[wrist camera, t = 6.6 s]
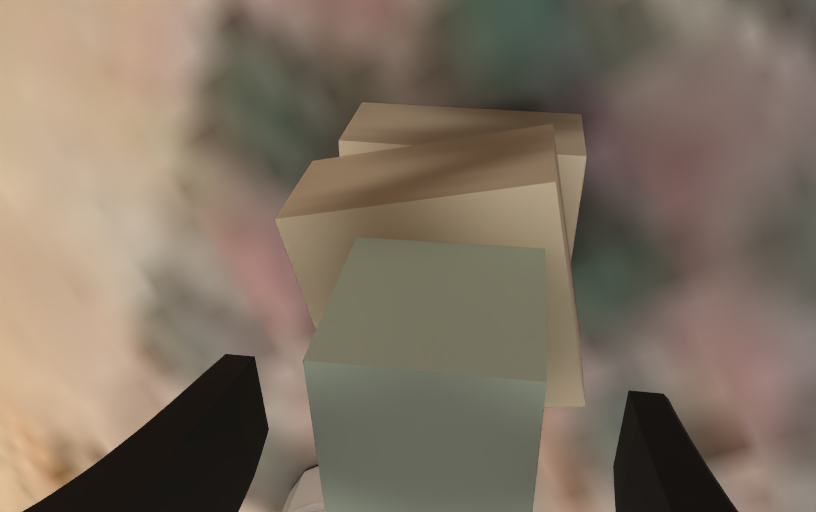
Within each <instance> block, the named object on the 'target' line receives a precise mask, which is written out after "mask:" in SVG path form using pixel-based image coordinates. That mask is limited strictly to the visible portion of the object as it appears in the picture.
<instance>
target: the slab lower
mask: <svg viewBox="0 0 816 512" xmlns="http://www.w3.org/2000/svg"><path fill="white" fill-rule="evenodd" d="M548 124H553V127H554V135H555V143H556V151H557V158H558V166H559V174H560V182H561V190H562V197H563V205H564V213H565V221H566V229H567V237H568V244H569V252H570V260H571V258H572V251H573V245H574V238H575V232H576V225H577V219H578V212H579V205H580V199H581V192H582V186H583V179H584V172H585V166H586V159H587V153H586V145H585V138H584V130H583V123H582V116H581V114H569V113H551V112H532V111H514V110H496V109H477V108H459V107H441V106H422V105H404V104H386V103H367V102H362V103H361V105H360V106H359V108H358V110H357V111H356V113H355V115H354V116H353V118H352V119H351V121H350V123H349V124H348V126H347V128H346V129H345V131H344V132H343V134H342V136H341V137H340V139H339V156H340V157H341V156H347V155H354V154H360V153H367V152H373V151H380V150H386V149H393V148H399V147H406V146H412V145H419V144H425V143H432V142H438V141H445V140H451V139H458V138H464V137H470V136H477V135H483V134H490V133H496V132H503V131H509V130H516V129H522V128H529V127H535V126H542V125H548Z"/></svg>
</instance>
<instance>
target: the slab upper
mask: <svg viewBox="0 0 816 512" xmlns="http://www.w3.org/2000/svg"><path fill="white" fill-rule="evenodd" d="M274 220H275V222H276V225H277V228H278V230H279V233H280V236H281V238H282V241H283V244H284V246H285V249H286V252H287V254H288V257H289V260H290V262H291V265H292V268H293V270H294V273H295V276H296V278H297V281H298V284H299V286H300V289H301V292H302V294H303V297H304V300H305V302H306V305H307V308H308V310H309V313H310V316H311V318H312V321H313V324H314V326H315V329H317V327H318V325H319V322H320V320H321V318H322V315H323V313H324V311H325V308H326V306H327V304H328V301H329V299H330V297H331V295H332V292H333V290H334V288H335V285H336V283H337V281H338V278H339V276H340V274H341V271H342V269H343V267H344V265H345V262H346V260H347V258H348V255H349V253H350V251H351V248H352V246H353V244H354V241H355V239H356V237H363V238H379V239H396V240H412V241H428V242H445V243H461V244H477V245H494V246H510V247H526V248H543V249H545V275H546V355H547V385H546V394H545V403H544V408H560V407H580V406H585V397H584V384H583V371H582V358H581V345H580V332H579V322H578V315H577V307H576V299H575V291H574V283H573V276H572V268H571V260H570V252H569V244H568V237H567V229H566V221H565V213H564V205H563V197H562V190H561V182H560V174H559V166H558V158H557V151H556V143H555V135H554V127H553V124H548V125H542V126H535V127H529V128H522V129H516V130H509V131H503V132H496V133H490V134H483V135H477V136H470V137H464V138H458V139H451V140H445V141H438V142H432V143H425V144H419V145H412V146H406V147H399V148H393V149H386V150H380V151H373V152H367V153H360V154H354V155H347V156H341V157H334V158H328V159H321V160H315V161H312V162H311V164H310V165H309V167H308V169H307V170H306V172H305V173H304V175H303V176H302V178H301V179H300V181H299V182H298V184H297V185H296V187H295V188H294V190H293V191H292V193H291V195H290V196H289V198H288V199H287V201H286V202H285V204H284V205H283V207H282V208H281V210H280V211H279V213H278V214H277V216H276V217H275V219H274Z"/></svg>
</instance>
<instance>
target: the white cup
mask: <svg viewBox="0 0 816 512" xmlns="http://www.w3.org/2000/svg"><path fill="white" fill-rule="evenodd" d="M282 512H325V508H324V501H323V494H322V487H321V481H320V474H319V467H318V466H317V467H315V468H312V469H310V470H307V471H305V472H304V473H303V474H302V476H301V477H300V479H299V480H298V481H297V483H296V484H295V486H294V487H293V488H292V490H291V491H290V493H289V496H288V498H287V500H286V503H285V505H284V508H283V510H282Z"/></svg>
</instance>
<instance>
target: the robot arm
mask: <svg viewBox="0 0 816 512" xmlns="http://www.w3.org/2000/svg"><path fill="white" fill-rule="evenodd" d="M268 430H269V428H268V423H267V418H266V413H265V408H264V403H263V397H262V392H261V387H260V382H259V377H258V372H257V367H256V361H255V357H253V356H242V355H231V354H225V355H224V356H223V357H222V358H221V359H220V360H218V361H217V362H216V363H215V364H214V365H213V366H211V367H210V368H209V369H208V370H207V371H206V372H205V373H203V374H202V375H201V376H200V377H199V378H198V379H197V380H196V381H195V382H193V383H192V384H191V385H190V386H189V387H188V388H187V389H186V390H184V391H183V392H182V393H181V394H180V395H179V396H178V397H177V398H175V399H174V400H173V401H172V402H171V403H170V404H169V405H167V406H166V407H165V408H164V409H163V410H162V411H160V412H159V413H158V414H157V415H156V416H155V417H153V418H152V419H151V420H150V421H149V422H148V423H146V424H145V425H144V426H143V427H142V428H140V429H139V430H138V431H137V432H135V433H134V434H133V435H132V436H130V437H129V438H128V439H127V440H125V441H124V442H123V443H122V444H120V445H119V446H118V447H116V448H115V449H114V450H113V451H111V452H110V453H109V454H108V455H106V456H105V457H104V458H103V459H101V460H100V461H98V462H97V463H96V464H94V465H93V466H92V467H90V468H89V469H87V470H86V471H85V472H83V473H82V474H80V475H79V476H78V477H76V478H75V479H73V480H72V481H70V482H69V483H67V484H66V485H64V486H63V487H61V488H60V489H58V490H57V491H55V492H54V493H52V494H51V495H49V496H48V497H46V498H44V499H43V500H41V501H40V502H38V503H36V504H35V505H33V506H31V507H30V508H28V509H26V510H24V511H23V512H238V511H239V509H240V507H241V505H242V502H243V500H244V498H245V496H246V494H247V491H248V489H249V487H250V485H251V482H252V480H253V478H254V475H255V472H256V469H257V466H258V463H259V460H260V457H261V454H262V450H263V447H264V443H265V440H266V437H267V433H268ZM613 468H614V489H615V507H616V512H738V511H737V509H736V508H735V506H734V505H733V504H732V502H731V501H730V499H729V498H728V496H727V495H726V493H725V492H724V490H723V489H722V487H721V486H720V484H719V483H718V481H717V480H716V478H715V477H714V475H713V474H712V472H711V471H710V469H709V468H708V466H707V465H706V463H705V462H704V460H703V458H702V457H701V455H700V454H699V452H698V450H697V449H696V447H695V445H694V444H693V442H692V440H691V439H690V437H689V435H688V434H687V432H686V430H685V428H684V427H683V425H682V423H681V421H680V420H679V418H678V416H677V414H676V412H675V411H674V409H673V407H672V405H671V403H670V401H669V399H668V398H667V397H666V396H665V395H664V394H660V393H649V392H638V391H629V392H628V397H627V402H626V406H625V411H624V416H623V421H622V426H621V431H620V436H619V441H618V446H617V451H616V456H615V461H614V466H613Z"/></svg>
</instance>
